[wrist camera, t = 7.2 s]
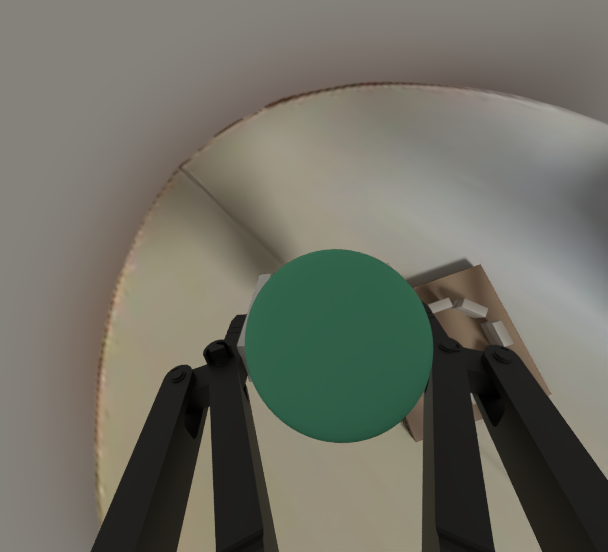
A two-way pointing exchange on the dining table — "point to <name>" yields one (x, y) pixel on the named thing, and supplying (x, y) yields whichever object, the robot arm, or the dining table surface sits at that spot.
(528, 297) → the dining table surface
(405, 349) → the milk bottle
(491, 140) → the dining table surface
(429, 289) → the ring seat
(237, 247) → the dining table surface
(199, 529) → the dining table surface
